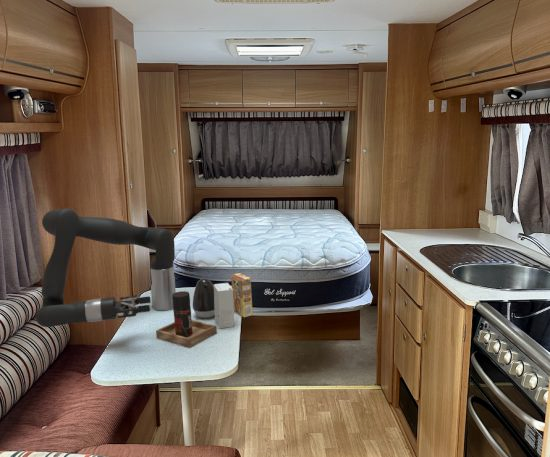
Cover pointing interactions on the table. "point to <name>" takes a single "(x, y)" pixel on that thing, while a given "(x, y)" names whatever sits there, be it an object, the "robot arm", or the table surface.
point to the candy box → (242, 294)
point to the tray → (199, 334)
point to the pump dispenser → (204, 299)
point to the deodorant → (182, 313)
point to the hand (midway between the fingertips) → (150, 303)
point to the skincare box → (224, 305)
